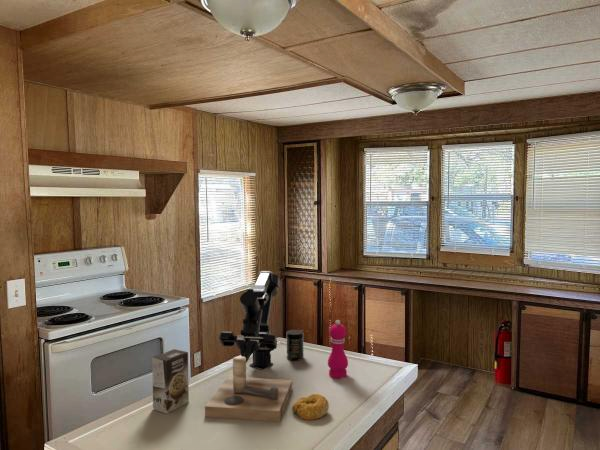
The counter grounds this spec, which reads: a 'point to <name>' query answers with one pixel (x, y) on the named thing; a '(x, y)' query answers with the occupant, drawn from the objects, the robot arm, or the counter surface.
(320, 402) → the bagel
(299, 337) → the supplement container
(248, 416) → the stool seat
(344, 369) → the pepper mill
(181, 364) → the coffee box
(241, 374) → the folding leg
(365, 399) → the counter surface
